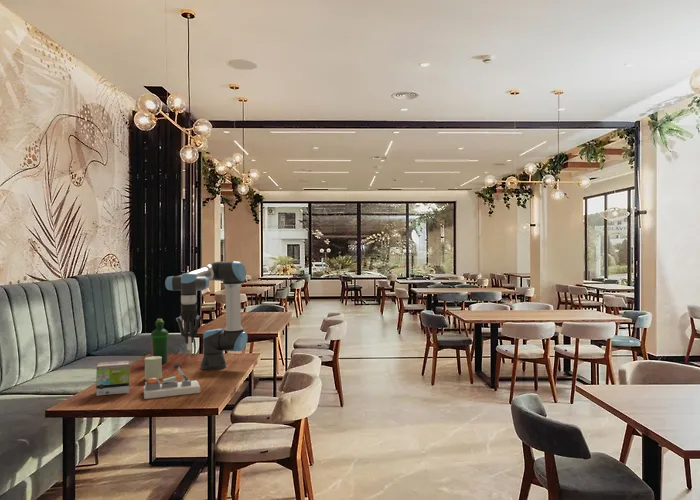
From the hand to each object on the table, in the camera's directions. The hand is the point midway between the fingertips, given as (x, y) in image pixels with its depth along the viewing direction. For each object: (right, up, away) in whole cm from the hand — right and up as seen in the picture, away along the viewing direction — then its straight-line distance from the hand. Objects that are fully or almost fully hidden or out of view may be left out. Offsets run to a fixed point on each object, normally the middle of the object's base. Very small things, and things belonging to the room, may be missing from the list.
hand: (189, 349), depth 261 cm
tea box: (-38, -21, -2) cm, 43 cm away
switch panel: (-8, -21, -3) cm, 22 cm away
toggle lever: (-1, -15, -1) cm, 15 cm away
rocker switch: (-9, -14, -4) cm, 17 cm away
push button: (-16, -16, -7) cm, 24 cm away
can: (-28, -21, +26) cm, 44 cm away
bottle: (-40, -22, +67) cm, 81 cm away
